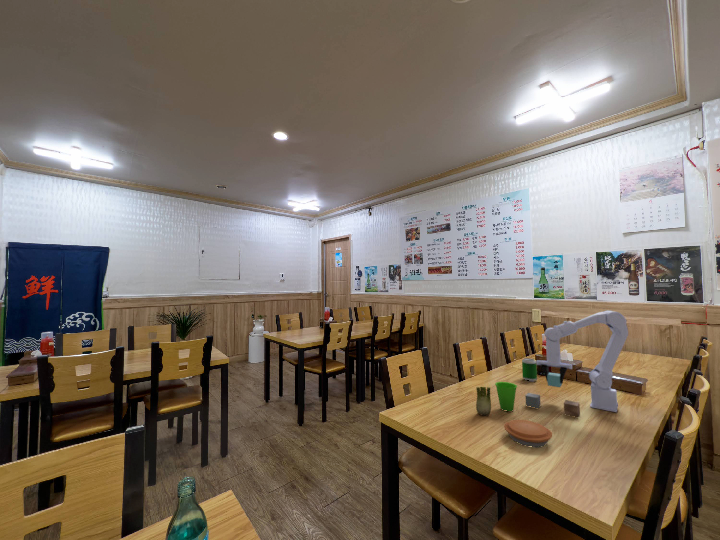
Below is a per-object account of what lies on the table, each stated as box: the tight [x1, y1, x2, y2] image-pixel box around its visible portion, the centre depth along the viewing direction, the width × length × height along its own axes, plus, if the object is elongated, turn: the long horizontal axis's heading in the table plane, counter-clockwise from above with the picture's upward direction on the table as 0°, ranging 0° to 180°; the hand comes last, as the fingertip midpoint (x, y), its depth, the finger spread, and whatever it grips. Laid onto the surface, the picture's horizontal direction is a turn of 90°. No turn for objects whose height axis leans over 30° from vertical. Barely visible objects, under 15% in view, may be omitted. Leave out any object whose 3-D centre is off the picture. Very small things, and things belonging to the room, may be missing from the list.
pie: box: [503, 419, 553, 448], centre depth 113 cm, size 16×16×5 cm
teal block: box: [546, 372, 563, 388], centre depth 149 cm, size 5×5×5 cm
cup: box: [494, 381, 518, 412], centre depth 141 cm, size 9×9×11 cm
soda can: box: [521, 357, 538, 382], centre depth 184 cm, size 8×8×12 cm
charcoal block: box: [524, 392, 541, 409], centre depth 144 cm, size 5×5×5 cm
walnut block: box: [563, 399, 581, 418], centre depth 134 cm, size 5×5×5 cm
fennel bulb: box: [475, 386, 492, 416], centre depth 135 cm, size 6×5×12 cm
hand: (554, 382), depth 149 cm, fingers closed on teal block, 5 cm apart
